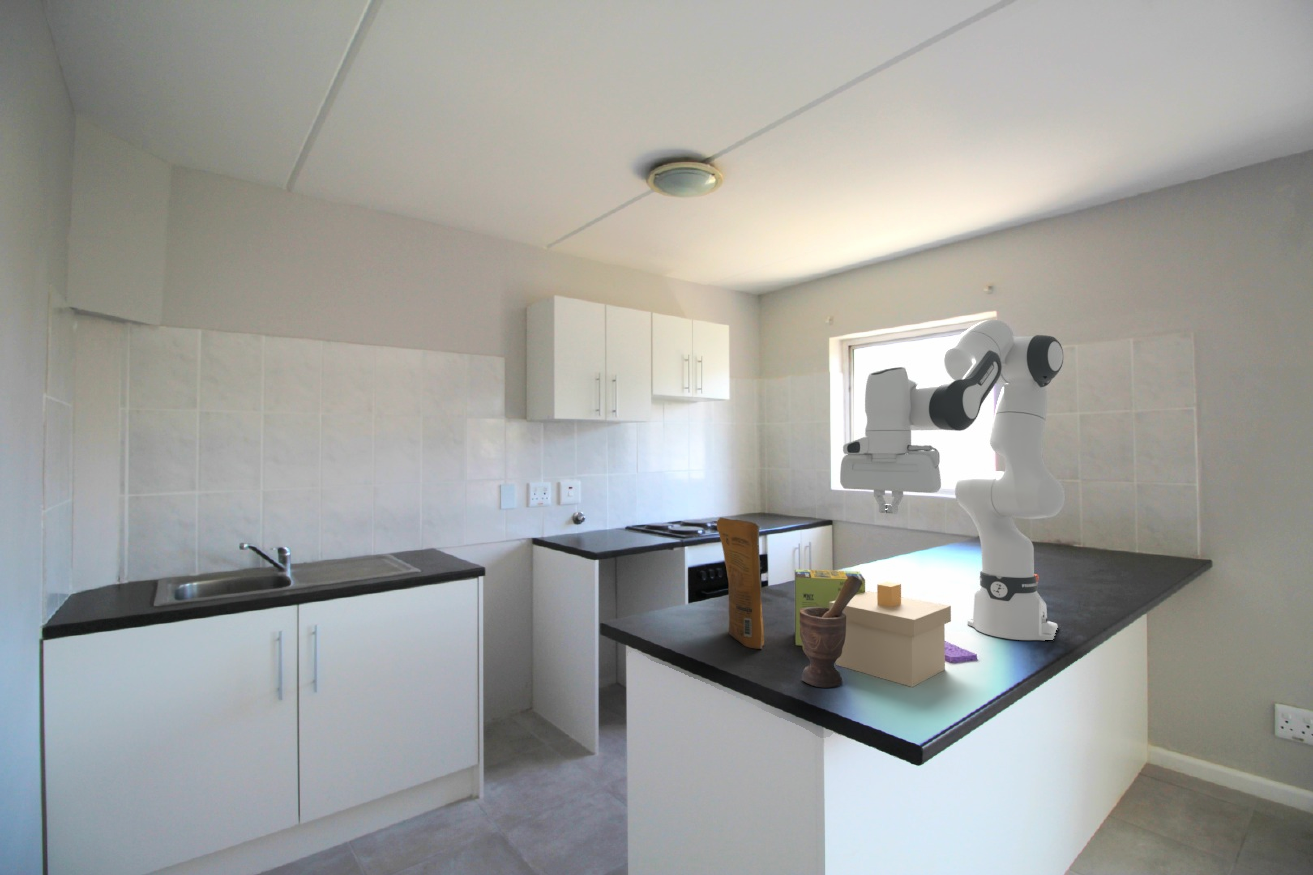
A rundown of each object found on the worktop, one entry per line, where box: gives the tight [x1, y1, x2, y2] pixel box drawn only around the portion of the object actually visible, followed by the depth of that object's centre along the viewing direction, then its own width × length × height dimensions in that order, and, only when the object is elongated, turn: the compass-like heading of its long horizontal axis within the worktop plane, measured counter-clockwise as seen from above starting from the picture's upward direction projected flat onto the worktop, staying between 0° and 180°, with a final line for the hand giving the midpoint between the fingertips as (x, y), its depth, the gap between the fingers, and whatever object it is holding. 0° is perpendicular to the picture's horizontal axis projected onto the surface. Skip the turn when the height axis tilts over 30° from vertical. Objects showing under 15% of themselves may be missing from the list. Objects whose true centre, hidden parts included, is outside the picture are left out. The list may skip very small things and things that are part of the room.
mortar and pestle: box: [800, 575, 862, 688], centre depth 117 cm, size 12×9×20 cm
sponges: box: [945, 640, 978, 664], centre depth 134 cm, size 7×13×2 cm, turn 16°
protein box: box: [794, 569, 866, 647], centre depth 142 cm, size 10×15×16 cm
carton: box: [835, 621, 946, 688], centre depth 124 cm, size 14×16×12 cm
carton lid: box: [829, 581, 952, 637], centre depth 124 cm, size 16×18×7 cm
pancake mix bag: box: [716, 517, 765, 650], centre depth 143 cm, size 7×19×28 cm, turn 16°
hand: (888, 513), depth 125 cm, fingers closed
